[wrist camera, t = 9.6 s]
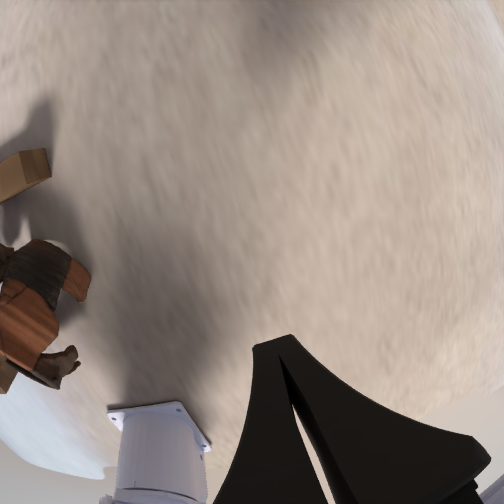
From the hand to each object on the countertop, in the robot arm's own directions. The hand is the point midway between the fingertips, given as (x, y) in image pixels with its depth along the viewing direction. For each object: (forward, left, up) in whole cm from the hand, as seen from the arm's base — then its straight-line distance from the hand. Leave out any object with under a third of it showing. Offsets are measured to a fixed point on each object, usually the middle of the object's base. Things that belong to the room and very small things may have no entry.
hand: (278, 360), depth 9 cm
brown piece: (+1, +16, -11) cm, 19 cm away
